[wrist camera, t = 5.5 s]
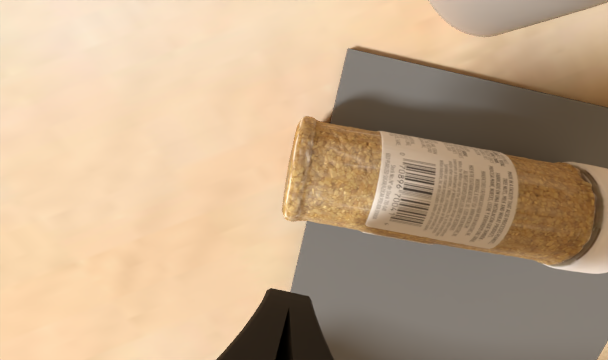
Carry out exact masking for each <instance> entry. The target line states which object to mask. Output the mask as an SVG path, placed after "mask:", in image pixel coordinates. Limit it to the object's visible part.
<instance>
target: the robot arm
mask: <svg viewBox="0 0 608 360" xmlns="http://www.w3.org/2000/svg"><path fill="white" fill-rule="evenodd" d="M216 360H334V358H333V356H332V354H331V352H330V349H329V347H328V345H327V343H326V340H325V338H324V336H323V333H322V331H321V328H320V325H319V323H318V320H317V317H316V314H315V311H314V308H313V304H312V301H311V299H310V297H309V296H306V295H301V294H296V293H291V292H287V291H282V290H277V289H272V288H271V289H269V290H267V291H266V294H265V296H264V298H263V300H262V302H261V304H260V305H259V307H258V309H257V310H256V312H255V313H254V315H253V316H252V317H251V319H250V320H249V321H248V323H247V324H246V325H245V327H244V328H243V330H242V331H241V332H240V333H239V335H238V336H237V337H236V338H235V339H234V340H233V342H232V343H231V344H230V345H229V346H228V347H227V348H226V350H225V351H224V352H223V353H222V354H221V355H220V356H219V357H218V358H217V359H216Z"/></svg>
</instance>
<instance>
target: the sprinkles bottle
mask: <svg viewBox="0 0 608 360" xmlns="http://www.w3.org/2000/svg"><path fill="white" fill-rule="evenodd" d="M282 212H283V214H284V217H285V219H286V220H289V221H298V220H299V221H311V222H315V223H320V224H327V225H332V226H338V227H345V228H349V229H354V230H359V231H361V232H363V233H367V234H373V235H378V236H384V237H389V238H395V239H401V240H407V241H412V242H418V243H424V244H431V245H433V244H441V245H447V246H450V247H457V248H463V249H469V250H476V251H481V252H488V253H492V254H501V255H505V256H513V257H519V258H524V259H531V260H535V261H537V262H539V263H542V264H544V265H546V266H548V267H551V268H555V269H561V270H567V271H574V272H582V273H591V274H601V273H607V272H608V169H607V168H603V167H598V166H593V165H587V164H582V163H576V162H562V163H561V162H556V163H551V162H545V161H539V160H533V159H527V158H524V157H517V156H512V155H506V154H503V153H501V152H497V151H492V150H485V149H480V148H474V147H468V146H463V145H457V144H452V143H446V142H440V141H435V140H429V139H424V138H418V137H413V136H407V135H401V134H396V133H390V132H385V131H369V130H364V129H359V128H353V127H346V126H340V125H335V124H330V123H326V122H320V121H317V120H316V119H314V118H312V117H308V116H306V117H303V118H302V119H301V120H300V122H299V124H298V126H297V129H296V133H295V137H294V143H293V148H292V151H291V156H290V160H289V165H288V172H287V178H286V184H285V191H284V198H283V205H282Z"/></svg>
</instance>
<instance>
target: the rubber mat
mask: <svg viewBox="0 0 608 360" xmlns="http://www.w3.org/2000/svg"><path fill="white" fill-rule="evenodd" d="M330 124H335V125H340V126H346V127H353V128H359V129H364V130H369V131H385V132H390V133H396V134H401V135H407V136H413V137H418V138H424V139H429V140H435V141H440V142H446V143H452V144H457V145H463V146H468V147H474V148H480V149H485V150H492V151H497V152H501V153H503V154H506V155H512V156H517V157H524V158H527V159H533V160H539V161H545V162H551V163H556V162H561V163H562V162H576V163H582V164H587V165H593V166H598V167H603V168H607V169H608V108H607V107H603V106H599V105H594V104H590V103H585V102H581V101H577V100H572V99H568V98H564V97H559V96H555V95H550V94H546V93H542V92H537V91H533V90H528V89H524V88H520V87H515V86H511V85H507V84H502V83H498V82H493V81H489V80H485V79H480V78H476V77H471V76H467V75H463V74H458V73H454V72H449V71H445V70H441V69H436V68H432V67H428V66H423V65H419V64H414V63H410V62H406V61H401V60H397V59H392V58H388V57H384V56H379V55H375V54H371V53H366V52H362V51H357V50H353V49H349V48H348V50H347V54H346V58H345V62H344V67H343V71H342V75H341V79H340V84H339V88H338V92H337V96H336V100H335V105H334V109H333V113H332V117H331V122H330ZM291 293H296V294H301V295H306V296H309V297H310V299H311V301H312V304H313V308H314V311H315V314H316V317H317V320H318V323H319V325H320V328H321V331H322V333H323V336H324V338H325V340H326V343H327V345H328V347H329V349H330V352H331V354H332V356H333V358H334V360H597V359H598V357H599V355H600V353H601V352H602V350H603V348H604V346H605V345H606V343H607V341H608V272H607V273H601V274H591V273H582V272H574V271H567V270H561V269H555V268H551V267H548V266H546V265H544V264H542V263H539V262H537V261H535V260H531V259H524V258H519V257H513V256H505V255H501V254H492V253H488V252H481V251H476V250H469V249H463V248H457V247H450V246H447V245H441V244H433V245H431V244H424V243H418V242H412V241H407V240H401V239H395V238H389V237H384V236H378V235H373V234H367V233H363V232H361V231H359V230H354V229H349V228H345V227H338V226H332V225H327V224H320V223H315V222H311V221H307V224H306V228H305V232H304V236H303V241H302V245H301V249H300V253H299V258H298V262H297V266H296V270H295V275H294V279H293V283H292V287H291Z"/></svg>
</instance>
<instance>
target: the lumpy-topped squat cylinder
mask: <svg viewBox="0 0 608 360" xmlns="http://www.w3.org/2000/svg"><path fill="white" fill-rule="evenodd" d="M428 1H429V2H430V4H431V5H432V7H433V8H434V9H435V11H436V12H437V13H438V14H439V15H440V16H441V18H442V19H444V20H445V21H446V22H447V23H448V24H450V25H451V26H452V27H454V28H456V29H458V30H459V31H462V32H464V33H467V34H470V35H474V36H479V37H490V36H496V35H499V34H503V33H506V32H510V31H513V30H516V29H520V28H523V27H527V26H530V25H533V24H537V23H540V22H544V21H547V20H551V19H554V18H558V17H561V16H564V15H568V14H571V13H575V12H578V11H581V10H585V9H588V8H591V7H594V6H597V5H600V4H603V3H606V2H608V0H428Z"/></svg>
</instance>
